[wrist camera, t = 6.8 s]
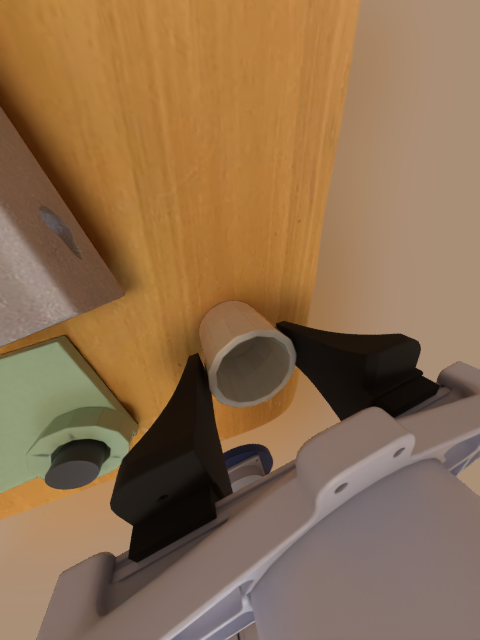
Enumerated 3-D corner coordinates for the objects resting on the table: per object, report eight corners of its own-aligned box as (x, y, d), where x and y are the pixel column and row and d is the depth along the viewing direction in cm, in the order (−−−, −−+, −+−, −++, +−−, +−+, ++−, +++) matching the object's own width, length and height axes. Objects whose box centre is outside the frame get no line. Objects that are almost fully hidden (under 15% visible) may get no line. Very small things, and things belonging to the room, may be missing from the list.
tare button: (115, 452, 14) (108, 475, 12) (75, 469, 13) (63, 495, 12) (93, 431, 12) (83, 454, 11) (48, 449, 12) (31, 476, 10)
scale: (147, 429, 16) (142, 457, 14) (-25, 503, 14) (-63, 551, 12) (71, 332, 11) (45, 353, 9) (-216, 421, 9) (-343, 478, 7)
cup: (265, 345, 17) (299, 385, 12) (209, 367, 16) (222, 420, 11) (255, 291, 14) (293, 315, 10) (188, 313, 13) (193, 352, 8)
